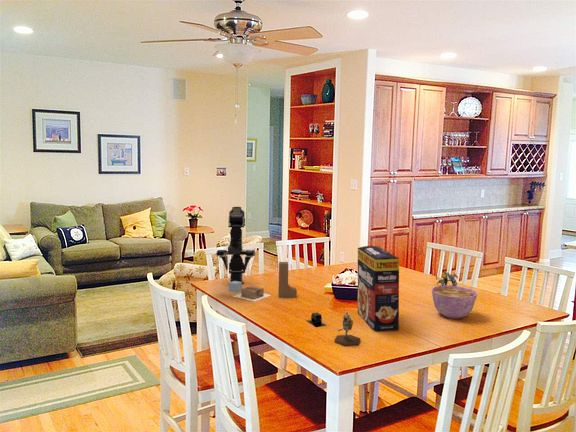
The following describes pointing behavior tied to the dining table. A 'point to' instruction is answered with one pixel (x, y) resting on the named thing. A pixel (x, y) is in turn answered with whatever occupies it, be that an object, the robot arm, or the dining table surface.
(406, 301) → the dining table surface
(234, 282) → the gray cube
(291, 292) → the wooden block
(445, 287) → the bowl of food
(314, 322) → the black block
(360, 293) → the cereal box
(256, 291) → the walnut base
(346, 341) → the robot figurine
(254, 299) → the felt mat
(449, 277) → the plant sprig
